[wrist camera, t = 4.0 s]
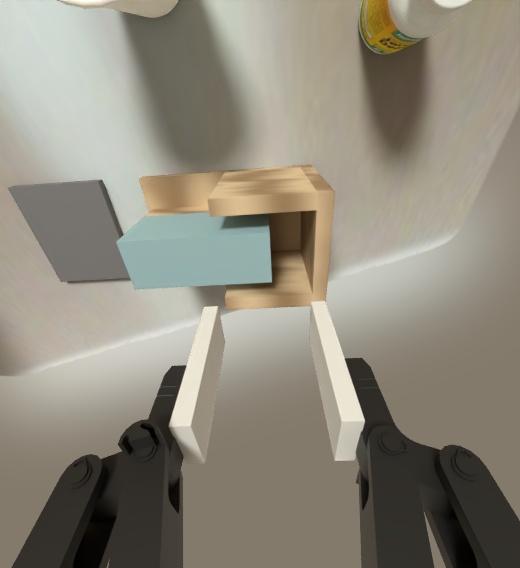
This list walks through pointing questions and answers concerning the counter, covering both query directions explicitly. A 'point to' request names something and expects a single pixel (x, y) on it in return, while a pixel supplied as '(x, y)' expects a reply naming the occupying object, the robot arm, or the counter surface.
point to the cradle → (282, 224)
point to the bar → (197, 250)
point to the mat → (74, 228)
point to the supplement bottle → (405, 21)
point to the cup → (129, 6)
